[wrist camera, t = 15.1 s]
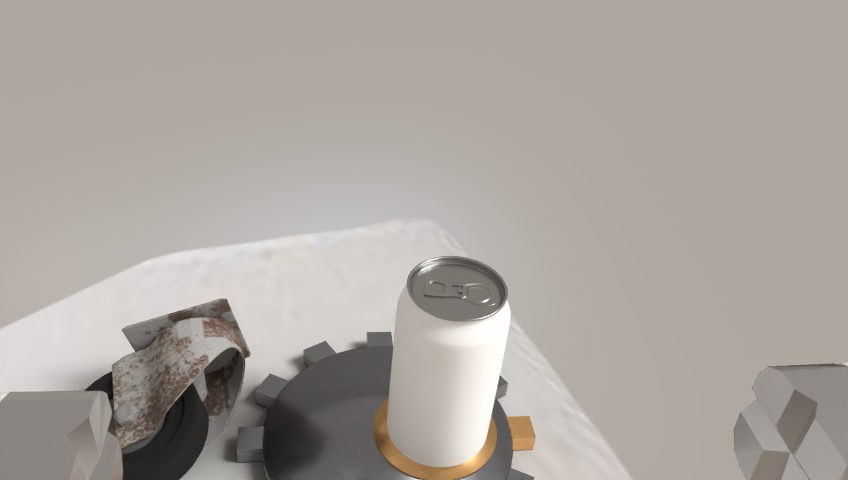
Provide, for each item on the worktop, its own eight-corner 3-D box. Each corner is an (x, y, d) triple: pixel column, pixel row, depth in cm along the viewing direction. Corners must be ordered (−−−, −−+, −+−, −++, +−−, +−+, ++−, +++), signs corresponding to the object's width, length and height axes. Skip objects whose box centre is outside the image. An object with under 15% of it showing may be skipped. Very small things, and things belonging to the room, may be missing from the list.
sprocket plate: (224, 594, 40) (222, 579, 39) (249, 347, 56) (248, 332, 55) (567, 571, 43) (572, 556, 42) (501, 341, 58) (503, 327, 57)
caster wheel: (91, 536, 45) (89, 399, 52) (275, 474, 47) (250, 349, 54) (40, 487, 40) (45, 343, 47) (248, 421, 42) (224, 290, 49)
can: (484, 478, 46) (516, 333, 39) (379, 464, 46) (391, 317, 39) (487, 399, 51) (515, 258, 44) (392, 387, 51) (405, 244, 44)
